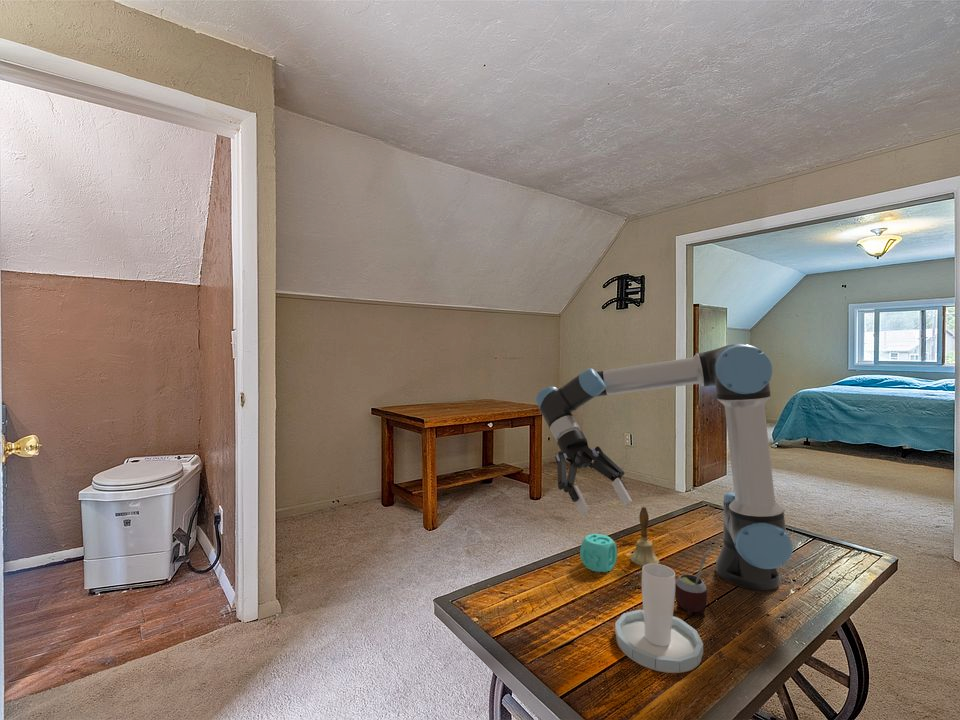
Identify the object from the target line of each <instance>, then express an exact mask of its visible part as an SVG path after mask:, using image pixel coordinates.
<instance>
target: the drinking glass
mask: <svg viewBox="0 0 960 720" xmlns="http://www.w3.org/2000/svg"><path fill="white" fill-rule="evenodd" d="M676 581H677V579H676V572H675V571H674V569H673V568H671V567H669V566H667V565H664V564H661V563H659V564H653V563H652V564H646V565H644V566H641V598H642V610H643V613H644V635H645V638H646V639H647V640H648V641H649V642H650V643H652V644H654V645H657V646H667V645H669V644H670V642H671V630H672V620H673V616H674V609H675V601H676V595H675V590H676Z"/></svg>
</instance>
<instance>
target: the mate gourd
mask: <svg viewBox="0 0 960 720" xmlns="http://www.w3.org/2000/svg"><path fill="white" fill-rule="evenodd" d="M712 550H713V548H712V547H710V548H709V549H708V550H707V551H706V552H705V553H704V555H703V556H702V557H701V560H700V564H699V568H698V572H697V575H693V574H682V575H680V576H679V577H677V578H676V590H675V601H676V604H677V605H676V609H677V610H679V611H681V612H685V613H687V614H686V619H688V620H691V618H692V617H693V615H694V616H699V617H701V618H705V617H706V614H705V611H706V610H707V606H708V595H709V594H708V590H707V586H706V584H705V583H704V581H703V579H701V578H700V577H701V574H702V570H703V566H704V564H705V562H706V558H707V557H708V555H709V554H710V553H711V551H712Z"/></svg>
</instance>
